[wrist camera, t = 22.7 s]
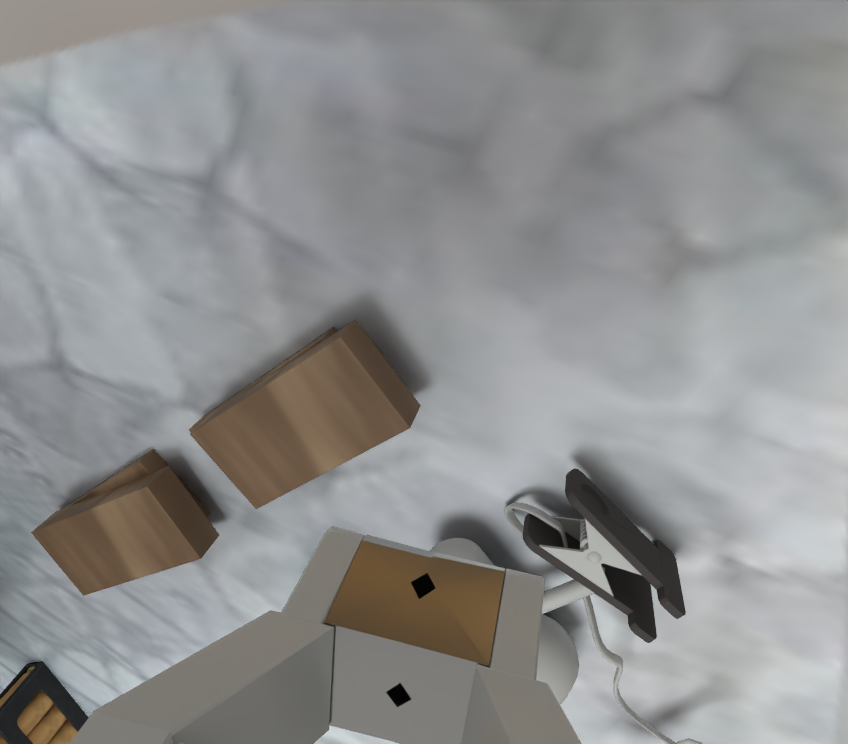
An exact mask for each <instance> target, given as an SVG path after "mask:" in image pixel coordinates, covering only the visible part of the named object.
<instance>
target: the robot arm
mask: <svg viewBox="0 0 848 744" xmlns="http://www.w3.org/2000/svg"><path fill="white" fill-rule="evenodd" d="M543 594H544V580H543V577H542V576H538V575H533V574H529V573H525V572H520V571H516V570H511V569H506V571H505V568H501V567H496V566H492V565H488V564H483V563H479V562H475V561H470V560H466V559H462V558H457V557H453V556H449V555H444V554H440V553H436V552H435V553H434V552H430V551H427V550H423V549H419V548H415V547H411V546H408V545H404V544H400V543H396V542H393V541H389V540H385V539H381V538H378V537H374V536H370V535H362V534H359V533H355V532H352V531H348V530H344V529H341V528H337V527H333V526H332V527H331V528H330V529H329V530H328V531H327V532H325V534H324V536H323V537H322V539H321V541H320V543H319V545H318V546H317V548H316V550H315V552H314V554H313V556H312V557H311V559H310V561H309V563H308V565H307V567H306V568H305V570H304V572H303V574H302V576H301V577H300V579H299V581H298V583H297V585H296V587H295V588H294V590H293V592H292V594H291V596H290V597H289V599H288V601H287V603H286V605H285V607H284V608H283V610H282V612H281V613H280V612H275V611H271V610H270V611H268V612H267V613H265V614H263V615H261V616H260V617H258V618H256V619H254V620H253V621H251V622H249V623H247V624H246V625H244V626H242V627H240V628H239V629H237V630H235V631H233V632H232V633H230V634H228V635H226V636H225V637H223V638H221V639H219V640H218V641H216V642H214V643H212V644H211V645H209V646H207V647H205V648H204V649H202V650H200V651H198V652H196V653H195V654H193V655H191V656H189V657H188V658H186V659H184V660H182V661H181V662H179V663H177V664H175V665H174V666H172V667H170V668H168V669H167V670H165V671H163V672H161V673H160V674H158V675H156V676H154V677H153V678H151V679H149V680H147V681H146V682H144V683H142V684H140V685H139V686H137V687H135V688H133V689H132V690H130V691H128V692H126V693H125V694H123V695H121V696H119V697H118V698H116V699H114V700H112V701H111V702H109V703H107V704H105V705H104V706H102V707H100V708H98V709H97V710H95V711H93V713H92V714H91V715H90V717H89V718H88V719H87V721H86V722H85V723H84V725H83V726H82V727H81V729H80V730H79V731H78V733H77V734H76V735H75V737H74V738H73V739H72V741H71V742H70V743H69V744H313V743H315V742H316V741H317V740H318V739H319V738H320V737H321V736H322V735H324V734H325V733H326V732H327V731H328V730H329V725H331V726H335V727H339V728H343V729H346V730H350V731H354V732H358V733H362V734H366V735H370V736H374V737H378V738H382V739H385V740H389V741H393V740H394V741H393V742H396V743H399V744H582V743H581V742H580V740H579V738H578V736H577V734H576V733H575V731H574V729H573V727H572V726H571V724H570V722H569V720H568V718H567V717H566V715H565V713H564V711H563V709H562V708H561V706H560V704H559V702H558V700H557V699H556V697H555V695H554V693H553V692H552V690H551V688H550V686H549V684H547V683H544V682H541V681H537V680H536V677H537V665H538V653H539V642H540V630H541V618H542V606H543Z"/></svg>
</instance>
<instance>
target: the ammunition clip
mask: <svg viewBox="0 0 848 744" xmlns="http://www.w3.org/2000/svg"><path fill="white" fill-rule="evenodd" d="M87 719H88V716H87V715H86V714H85V713H84V712H83V710H82V709H81V708H80V707H79V705H78V704H77V703H76V702H75V700H74V699H73V698H72V697H71V696H70V694H69V693H68V692H67V691H66V689H65V688H64V687H63V686H62V684H61V683H60V682H59V681H58V679H57V678H56V677H55V676H54V675H53V673H52V672H51V671H50V670H49V668H48V667H47V666H46V665H45V663H41V662H40V663H34V664H27V665H26V666H25V667H24V668H23V669H22V670H21V671H20V673H19V674H18V675H17V676H16V677H15V678H14V679H13V681H12V682H11V683H10V684H9V685H8V686H7V687H6V689H5V690H4V691H3V692H2V693H1V694H0V744H69V743H70V742H71V741H72V739H73V738H74V737H75V735H76V734H77V733H78V731H79V730H80V729H81V727H82V726H83V725H84V723H85V722H86V721H87Z"/></svg>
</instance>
